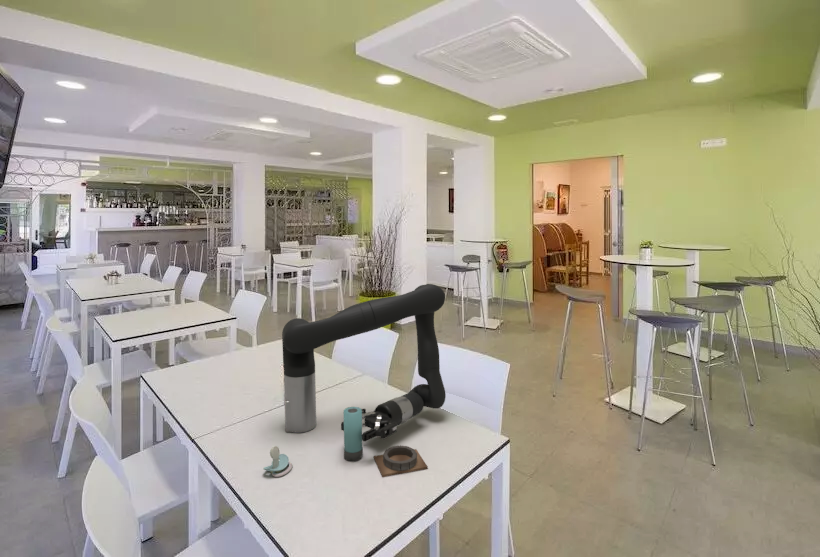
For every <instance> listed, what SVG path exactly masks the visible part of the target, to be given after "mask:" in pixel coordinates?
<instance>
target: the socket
mask: <svg viewBox="0 0 820 557" xmlns="http://www.w3.org/2000/svg"><path fill="white" fill-rule="evenodd" d="M373 460H374V462H375V464H376V466H377V469H378V471H379V472H380V475H381V477H382V478H385V477H391V476H395V475H396V476H397V475H402V474H405V473H406V474H407V473H411V472H418V471H423V470H428V469H429V467H428V465H427V463H426V462H425V460H424V459H423V457H422V456H421V454H420V453H419V451H418V450H417V448H412V447H410V446H408V445H401V444H400V445H394V446H389V447H388V448H386V449H385V450H384V452H383V454H379V455H374V456H373Z"/></svg>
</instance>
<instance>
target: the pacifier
mask: <svg viewBox="0 0 820 557" xmlns="http://www.w3.org/2000/svg"><path fill="white" fill-rule="evenodd" d="M269 454H270V455H269V456H270V457H271V459H272V461H271V464H270V465H267V466H264V467H263V470H264V471H266V472H267V471H268V472H270V473H271V475H272V476H273V477H275V478H279V477H283V476H285V475H287V474H289V473H290V472H291V471H292V469H293V463H291V462H290V459H289V456H288V455H287V454H285V453H281V452H280V448H279V446H276V445H274V446H273V447H271V449H270V452H269ZM282 470H283V471H282Z"/></svg>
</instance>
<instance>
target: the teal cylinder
mask: <svg viewBox="0 0 820 557" xmlns="http://www.w3.org/2000/svg"><path fill="white" fill-rule="evenodd" d="M362 409H363V408H361V407H358V406H349V407H346V408H345V409H343V422H344V431H343V459H344V460H345V461H347V462H352V463H354V462H358V461H360V460H362V459H363V457H364V456H363V454H364V451H363V448H364V447H363V440H362V434H363V427H362V423H363V420H362Z"/></svg>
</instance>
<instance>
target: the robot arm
mask: <svg viewBox="0 0 820 557" xmlns="http://www.w3.org/2000/svg"><path fill="white" fill-rule="evenodd" d="M445 301H446V295H445V292H444V290H443V288H442V287H440V286H438V285H436V284H433V283H426V284H421V285H419V286H417V287H416V288H415V289H414V290H412V291H408V292H406V293H403V294H399V295H396V296H395V295H394V296H386V297H381V298H375V299H370V300H366V301H363V302H359V303H356V304H353V305H350V306H348V307H346V308H344V309H343V310H340V311H339V312H337V313H335V314H334V315H332V316H330V317H326V318H324V319H320V320H315V321H310V322H309V320H306V319H304V318H301V317H299V318H296V317H295V318H293V319H291V320H289V321H287V322H286V323H285V324H284V326H283V328H282V333H281V335H282V337H281V339H282V340H281V341H282V363H283V364H282V366H283V381H284V383H283V384H284V385H283V387H284V388H283V389H284V390H283V391H284V394H283V396H284V399H283V400H284V422H285V424H284V425H285V426H284V427H285V432H286V433H297V434H298V433H306V432H310V431H311V430H313V429H315V428H316V427H317V396H316V395H317V394H316V392H317V391H316V388H317V387H316V360H315V353H314V352H315V349H318V348H320V347H323V346H325V345H327V344H330V343H333V342H336V341H339V340H343V339H344V340H345V339H348V338H350V337H353V336H357V335H360V334H366V333H368V332H371V331H375V330H377V329H380V328H384V327H386V326H389V325H392V324H395V323H397V322H399V321H402V320H404V319H406V318H410V317H414V321H415V327H416V342H417V344H416V345H417V374H418V376H419V377H421V378H422V379H425V381H426V383H427V384H426V383H425V384H424V383H422V384H417V385H416V386H414V387H413V388H411V390H410V391H408V393H405V394H402V395H401V396H397V397H394V398H392V399H390V400H387V401H385V402H382V403H380V404H379V405H377V406H376V407H375V409H374V410H373V411H369V412H367V409H366V408H361V409H362V421H363V420H364V422H362V428H369V429H368V430H366V431H363V432H362V442H367V441H370V440H372V439H373V438H379V437H380V439H381V440H385V439H387V438H388V437H390V436H392V435H393V434H395V433H397V429H398V428H397V427H398V426H400V425H402V424H404V423H406V422H407V421H409V420H410V419H412V418H414V417H416V416H418V415H419V414H420V413H421V412H422V411H423V410H424V408H430V409H435V410H436V409H437V410H439V409H440V408H442V407H443V406H444V404H445V402H446V388H445V386H444V382H443V378H442V375H441V370H440V367H441V366H440V350H439V344H438V339H437V335H436V330H435V312H437V311H440V309H441V308H442V307H444V304H445ZM340 430H341V431H343V432H344V421H343V422H341V423H340Z"/></svg>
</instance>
